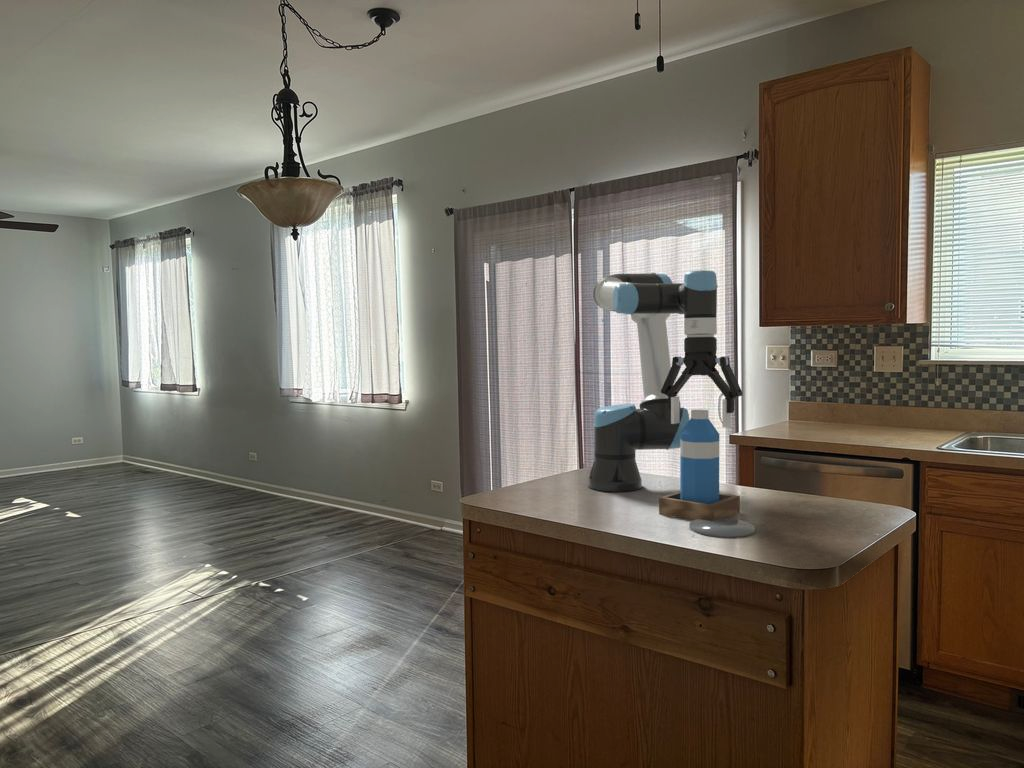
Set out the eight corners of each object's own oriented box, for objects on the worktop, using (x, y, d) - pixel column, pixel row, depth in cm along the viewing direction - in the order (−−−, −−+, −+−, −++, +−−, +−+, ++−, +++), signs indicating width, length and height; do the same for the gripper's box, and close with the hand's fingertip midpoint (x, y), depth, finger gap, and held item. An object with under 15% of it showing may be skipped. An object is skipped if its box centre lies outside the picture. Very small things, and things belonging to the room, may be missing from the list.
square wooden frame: (659, 513, 176) (659, 497, 176) (688, 504, 187) (688, 488, 186) (711, 523, 167) (711, 506, 167) (739, 512, 177) (739, 496, 177)
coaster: (677, 529, 162) (677, 526, 162) (708, 518, 172) (708, 514, 172) (736, 541, 152) (736, 537, 152) (766, 528, 162) (766, 524, 162)
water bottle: (675, 515, 175) (675, 411, 173) (685, 507, 183) (685, 407, 182) (714, 519, 170) (715, 412, 169) (723, 511, 179) (723, 409, 177)
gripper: (646, 337, 180) (647, 423, 181) (742, 335, 163) (742, 430, 164) (663, 337, 185) (663, 420, 186) (757, 335, 168) (757, 427, 169)
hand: (700, 425), depth 175 cm, fingers open, 13 cm apart
